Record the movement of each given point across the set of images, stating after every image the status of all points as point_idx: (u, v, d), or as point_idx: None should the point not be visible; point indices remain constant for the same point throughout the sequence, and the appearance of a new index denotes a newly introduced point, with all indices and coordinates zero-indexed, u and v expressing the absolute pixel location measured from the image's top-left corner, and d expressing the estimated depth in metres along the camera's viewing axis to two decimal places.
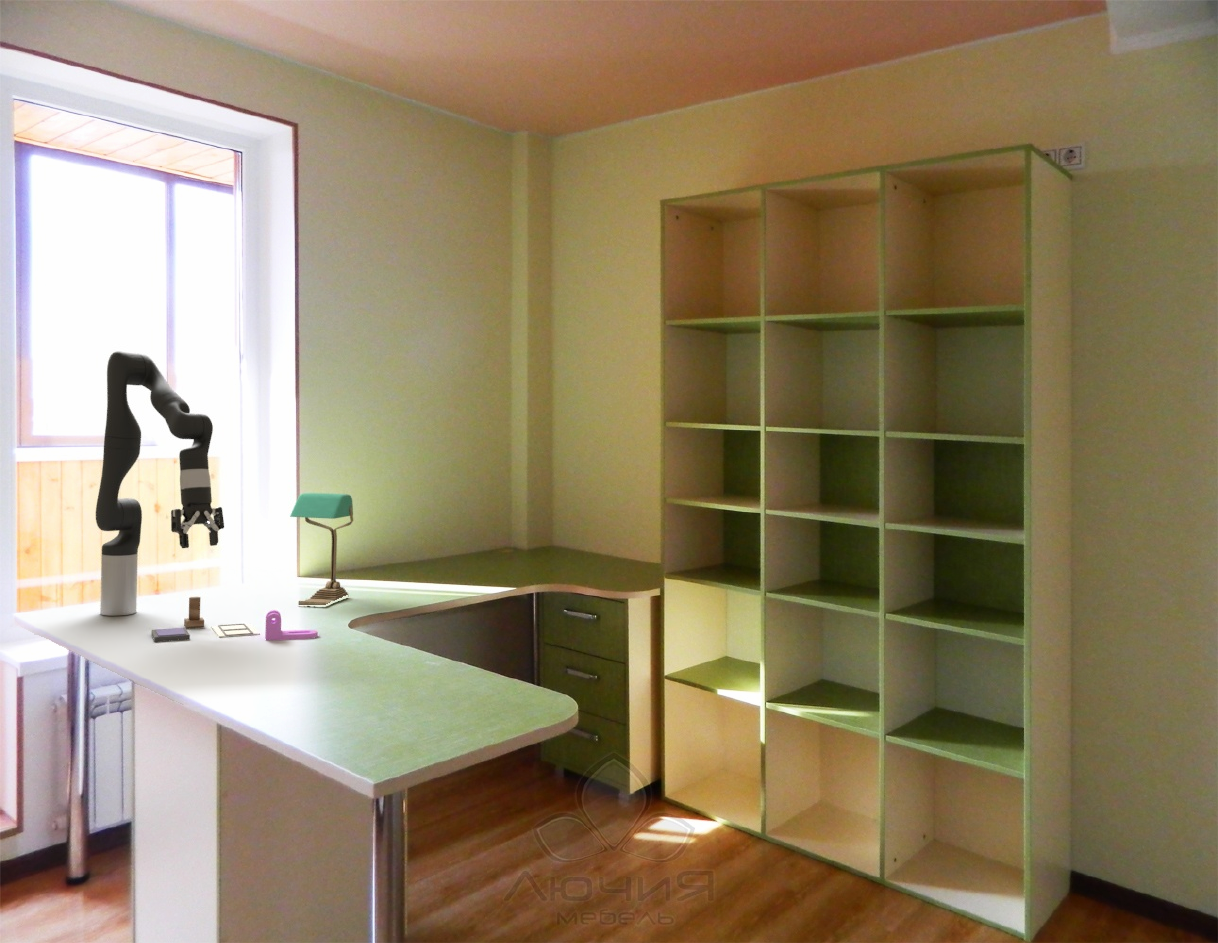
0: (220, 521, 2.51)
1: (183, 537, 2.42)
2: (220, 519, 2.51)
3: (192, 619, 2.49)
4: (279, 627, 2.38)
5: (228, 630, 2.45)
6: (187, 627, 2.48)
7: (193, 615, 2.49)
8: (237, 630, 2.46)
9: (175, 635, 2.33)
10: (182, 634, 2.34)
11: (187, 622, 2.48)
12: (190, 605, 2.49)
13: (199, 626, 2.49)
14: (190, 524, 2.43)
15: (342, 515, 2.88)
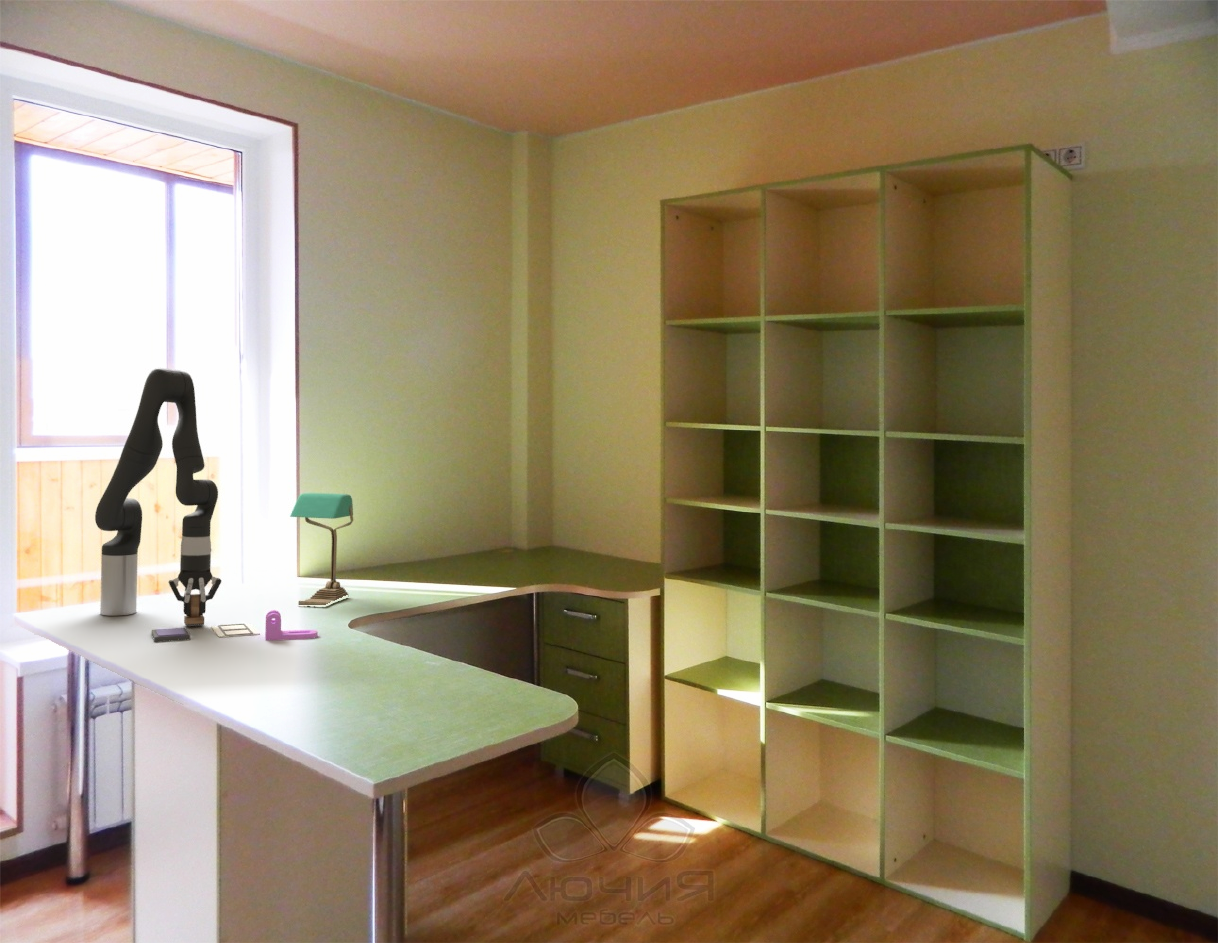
0: (211, 591, 2.51)
1: (185, 606, 2.49)
2: (213, 590, 2.51)
3: (192, 617, 2.49)
4: (279, 627, 2.38)
5: (228, 630, 2.45)
6: (187, 624, 2.48)
7: (193, 613, 2.49)
8: (237, 630, 2.46)
9: (175, 635, 2.33)
10: (182, 634, 2.34)
11: (187, 619, 2.48)
12: (190, 602, 2.49)
13: (199, 623, 2.49)
14: (188, 593, 2.48)
15: (342, 515, 2.88)
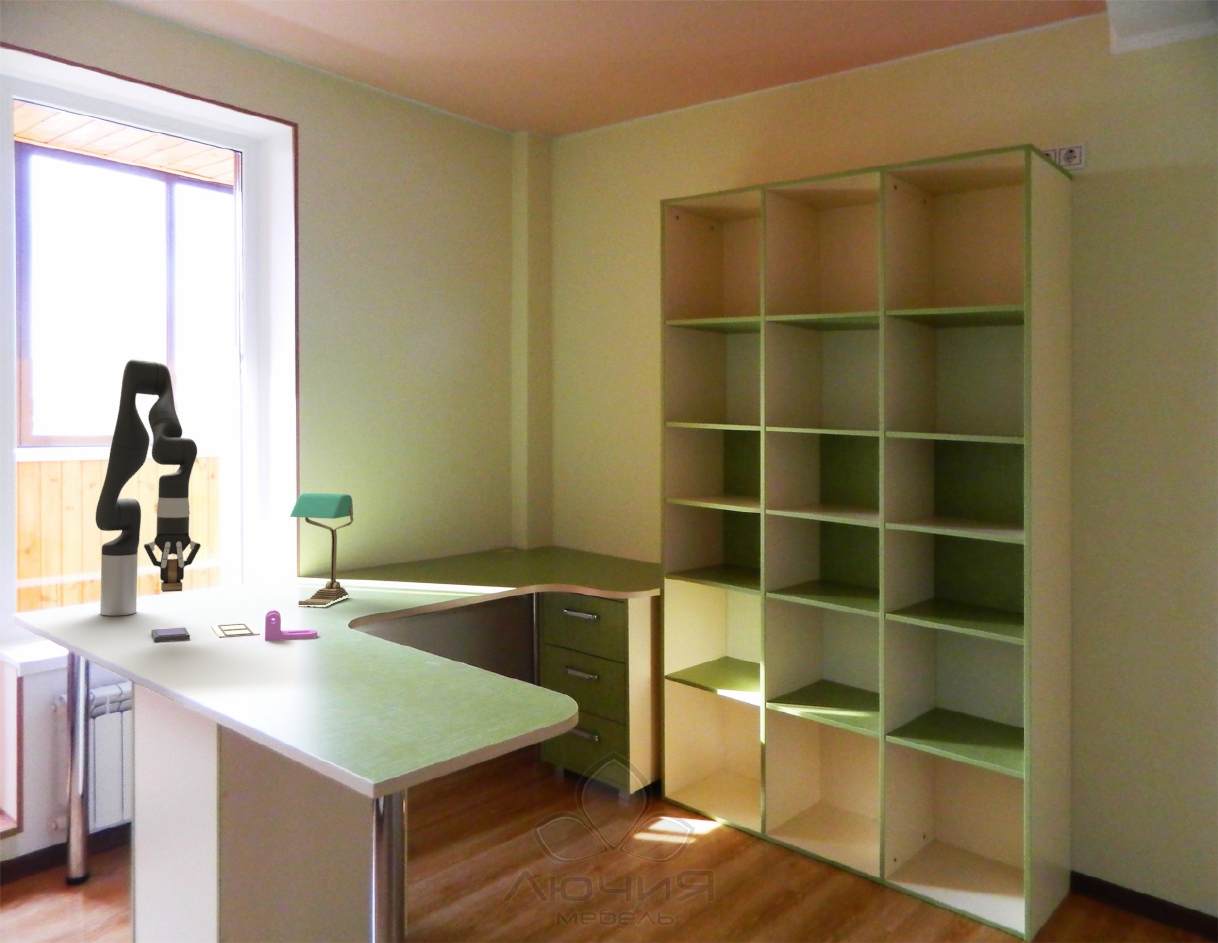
0: (190, 557, 2.37)
1: (162, 572, 2.34)
2: (191, 555, 2.37)
3: (169, 582, 2.35)
4: (279, 627, 2.38)
5: (228, 630, 2.45)
6: (164, 590, 2.33)
7: (170, 578, 2.35)
8: (237, 630, 2.46)
9: (175, 635, 2.33)
10: (182, 634, 2.34)
11: (164, 585, 2.33)
12: (167, 567, 2.35)
13: (177, 589, 2.35)
14: (165, 557, 2.34)
15: (342, 515, 2.88)
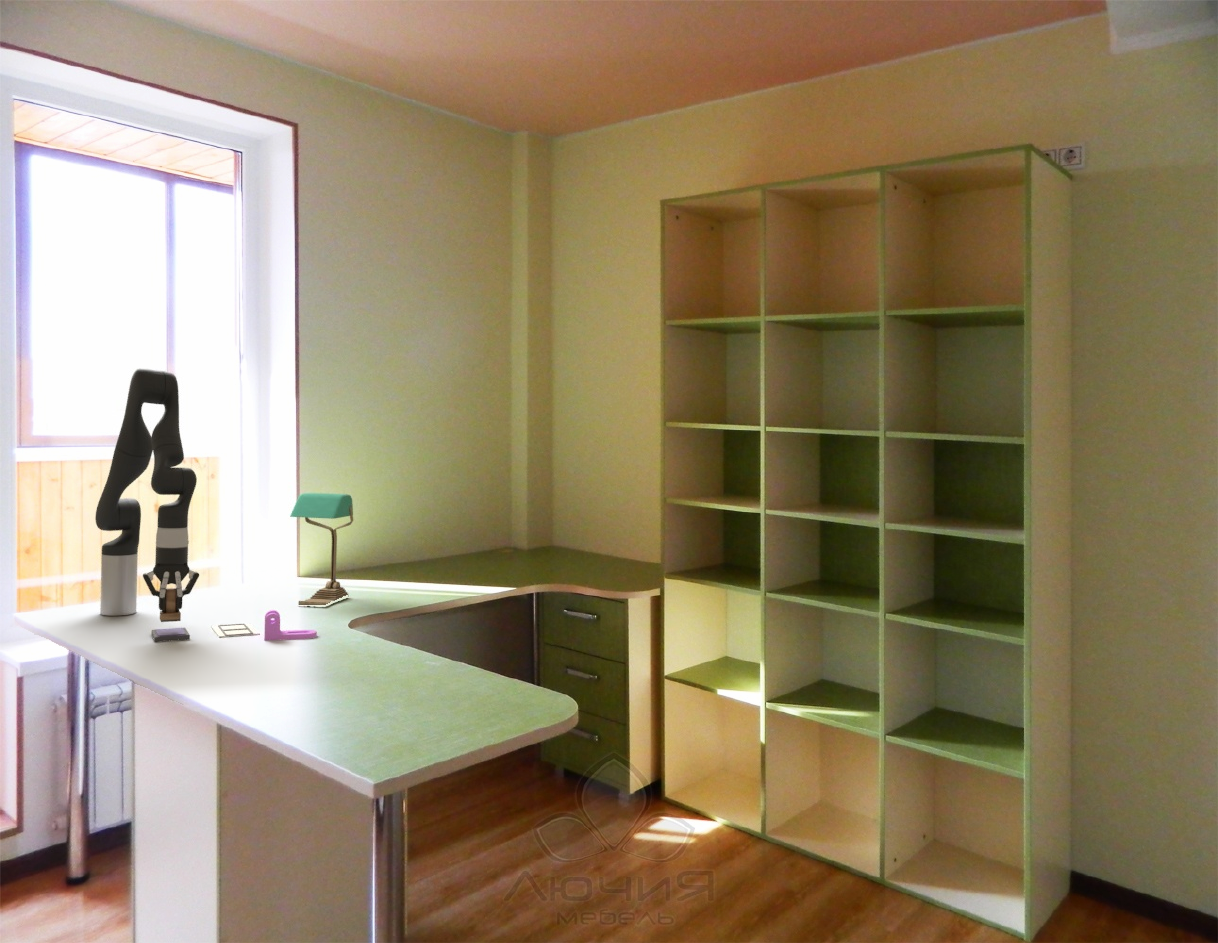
0: (189, 586, 2.37)
1: (160, 601, 2.35)
2: (190, 584, 2.38)
3: (167, 612, 2.35)
4: (278, 627, 2.38)
5: (228, 630, 2.45)
6: (162, 620, 2.34)
7: (169, 608, 2.35)
8: (237, 630, 2.46)
9: (175, 635, 2.33)
10: (182, 634, 2.34)
11: (162, 615, 2.34)
12: (166, 597, 2.35)
13: (175, 619, 2.35)
14: (163, 587, 2.34)
15: (342, 515, 2.88)
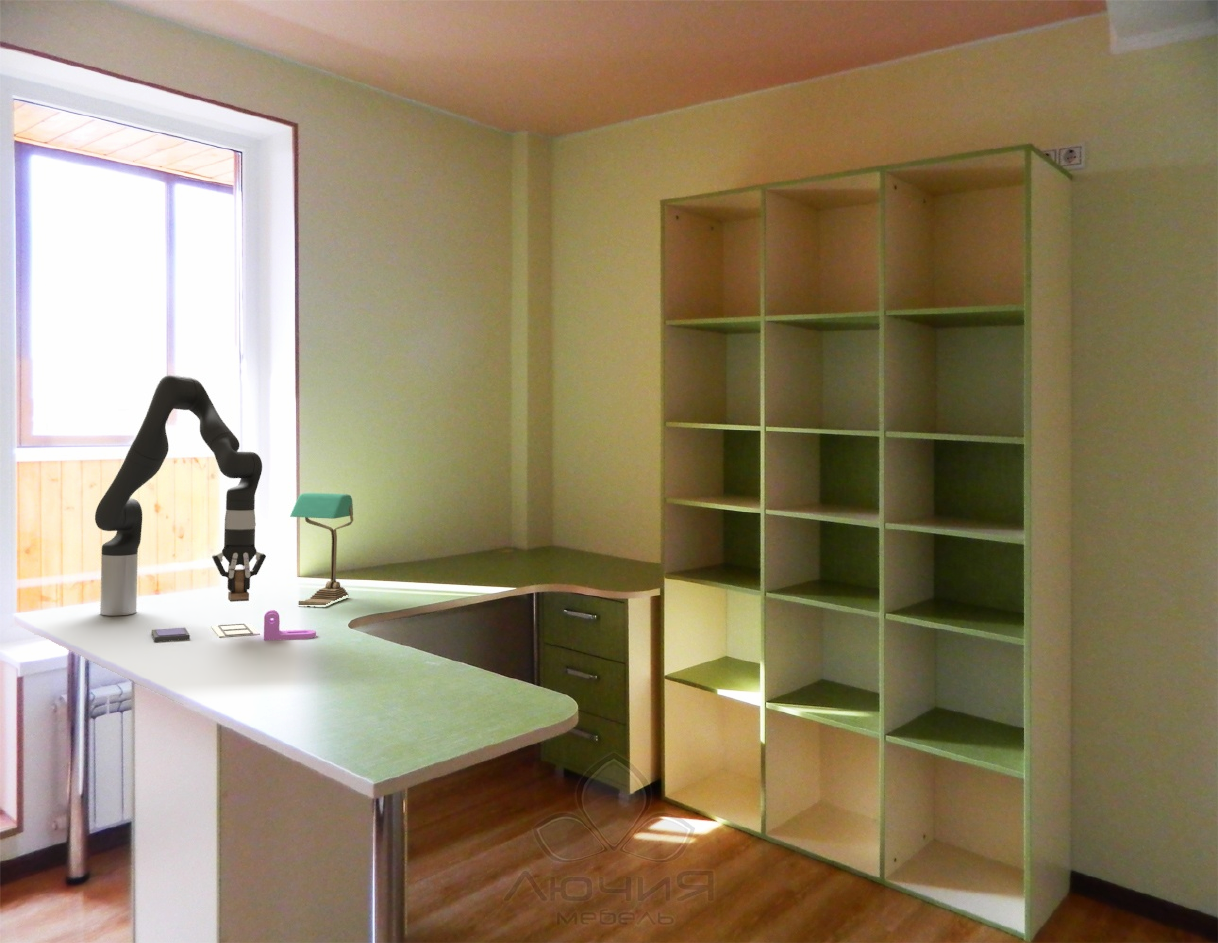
0: (256, 567, 2.44)
1: (229, 582, 2.41)
2: (257, 565, 2.44)
3: (236, 592, 2.42)
4: (277, 627, 2.38)
5: (228, 630, 2.45)
6: (232, 600, 2.40)
7: (238, 588, 2.42)
8: (237, 630, 2.46)
9: (175, 635, 2.33)
10: (182, 634, 2.34)
11: (232, 595, 2.40)
12: (234, 577, 2.42)
13: (244, 599, 2.42)
14: (232, 568, 2.41)
15: (342, 515, 2.88)
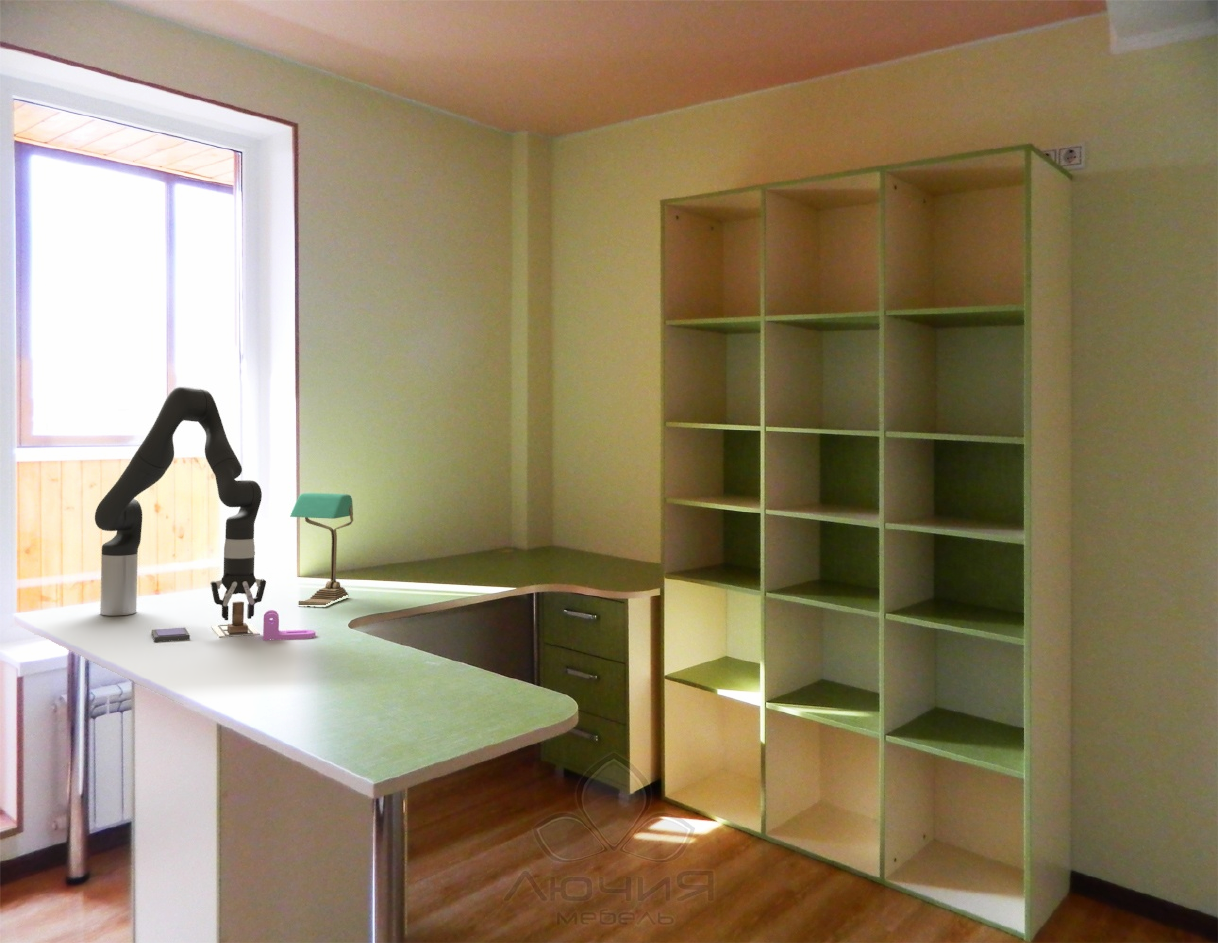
0: (259, 594, 2.45)
1: (223, 610, 2.41)
2: (260, 592, 2.45)
3: (235, 625, 2.42)
4: (277, 627, 2.38)
5: None
6: (231, 633, 2.41)
7: (237, 621, 2.42)
8: None
9: (175, 635, 2.33)
10: (182, 634, 2.34)
11: (231, 628, 2.41)
12: (234, 610, 2.42)
13: (243, 632, 2.42)
14: (229, 596, 2.41)
15: (342, 515, 2.88)
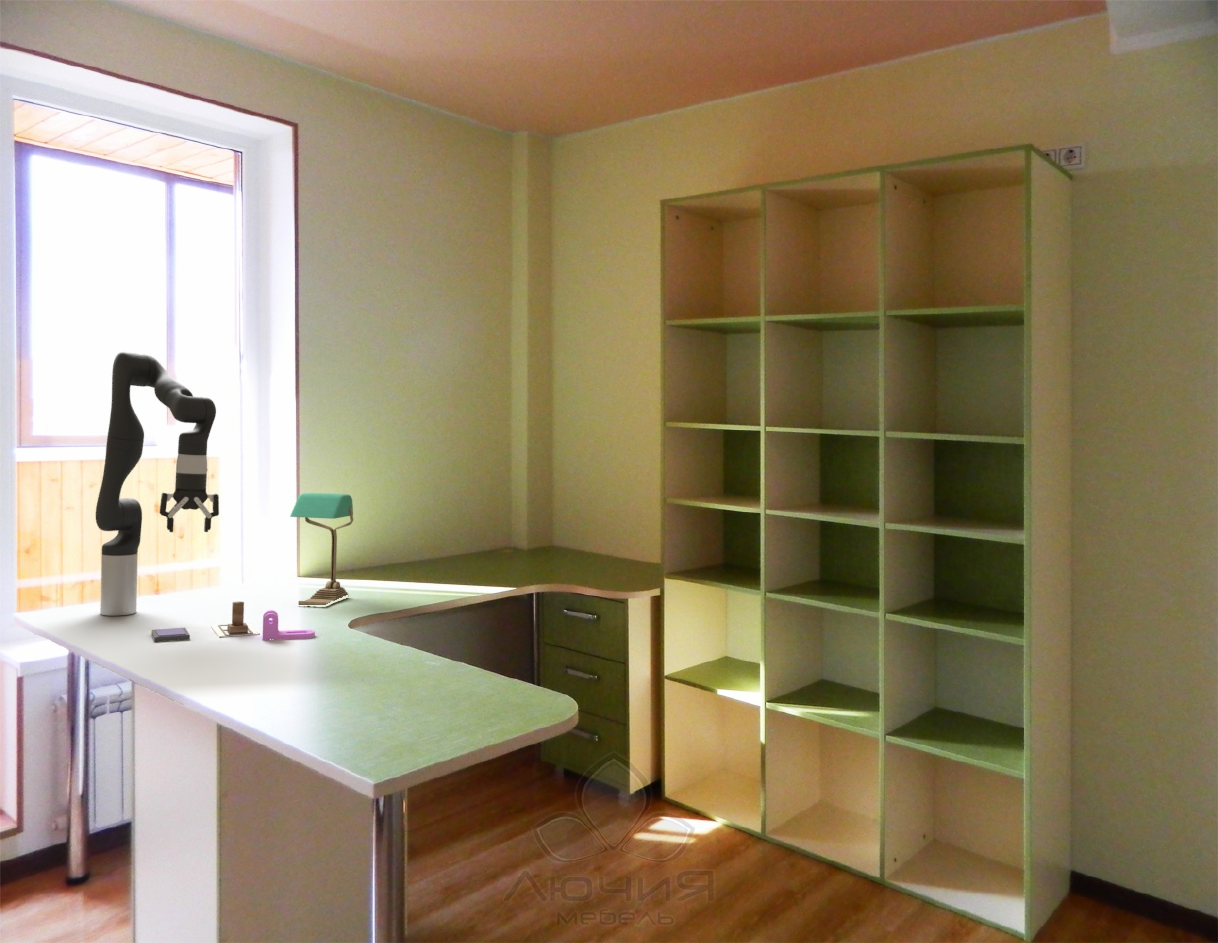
0: (214, 508, 2.47)
1: (169, 521, 2.42)
2: (215, 506, 2.47)
3: (235, 625, 2.42)
4: (276, 627, 2.38)
5: None
6: (231, 633, 2.41)
7: (237, 621, 2.42)
8: None
9: (175, 635, 2.33)
10: (182, 634, 2.34)
11: (231, 628, 2.41)
12: (234, 610, 2.42)
13: (243, 632, 2.42)
14: (176, 509, 2.41)
15: (342, 515, 2.88)
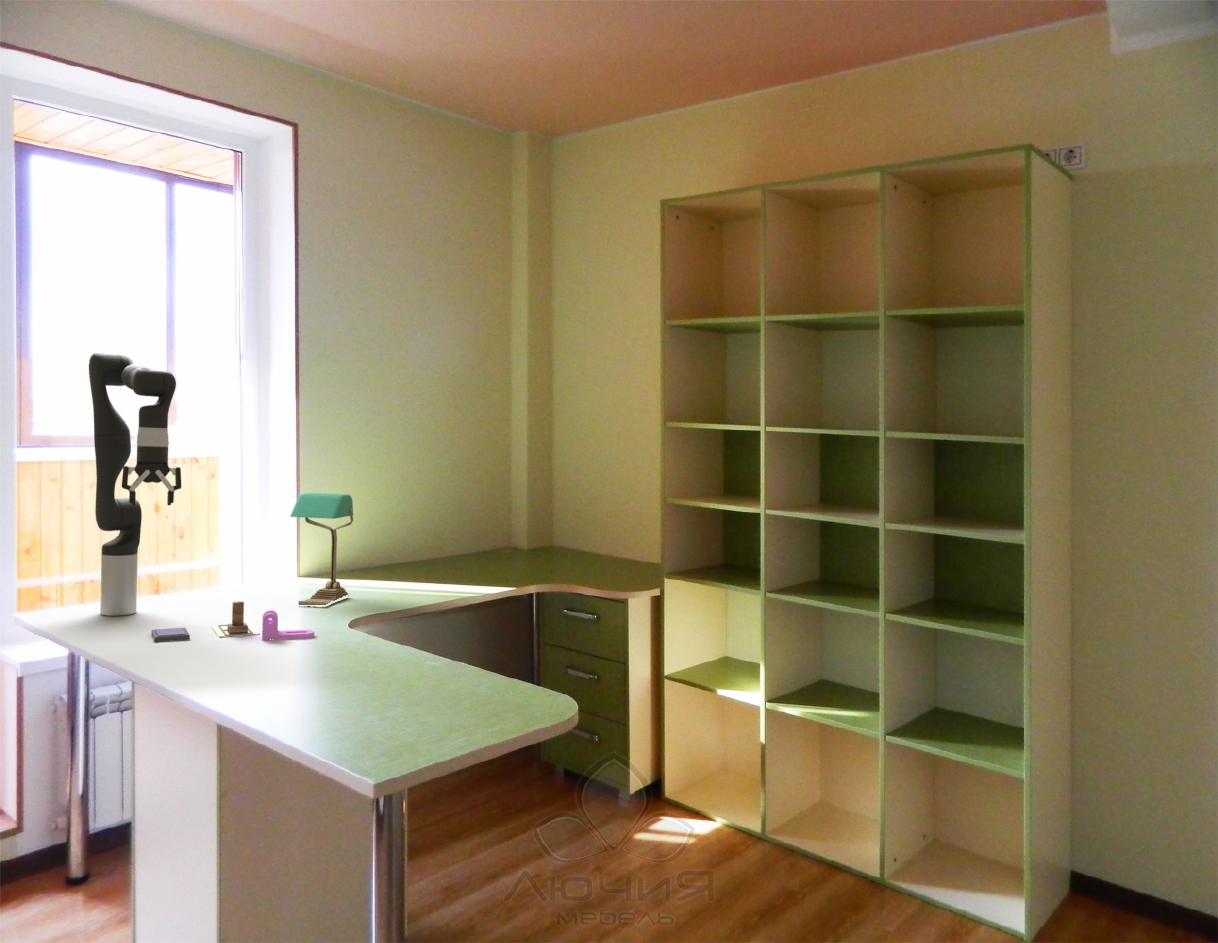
0: (177, 481, 2.48)
1: (131, 495, 2.42)
2: (177, 479, 2.48)
3: (235, 625, 2.42)
4: (276, 627, 2.38)
5: None
6: (231, 633, 2.41)
7: (237, 621, 2.42)
8: None
9: (175, 635, 2.33)
10: (182, 634, 2.34)
11: (231, 628, 2.41)
12: (234, 610, 2.42)
13: (243, 632, 2.42)
14: (138, 482, 2.42)
15: (342, 515, 2.88)
